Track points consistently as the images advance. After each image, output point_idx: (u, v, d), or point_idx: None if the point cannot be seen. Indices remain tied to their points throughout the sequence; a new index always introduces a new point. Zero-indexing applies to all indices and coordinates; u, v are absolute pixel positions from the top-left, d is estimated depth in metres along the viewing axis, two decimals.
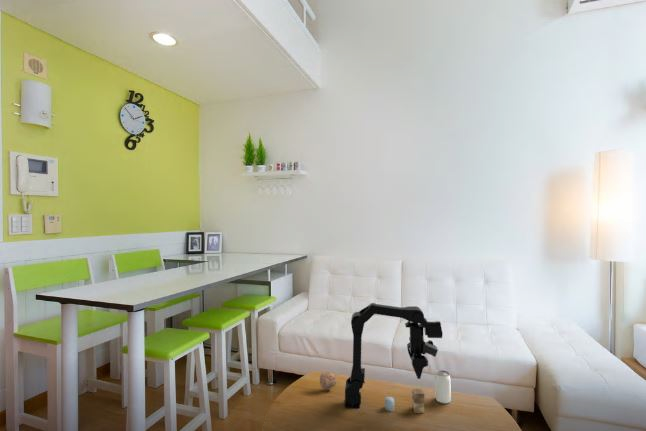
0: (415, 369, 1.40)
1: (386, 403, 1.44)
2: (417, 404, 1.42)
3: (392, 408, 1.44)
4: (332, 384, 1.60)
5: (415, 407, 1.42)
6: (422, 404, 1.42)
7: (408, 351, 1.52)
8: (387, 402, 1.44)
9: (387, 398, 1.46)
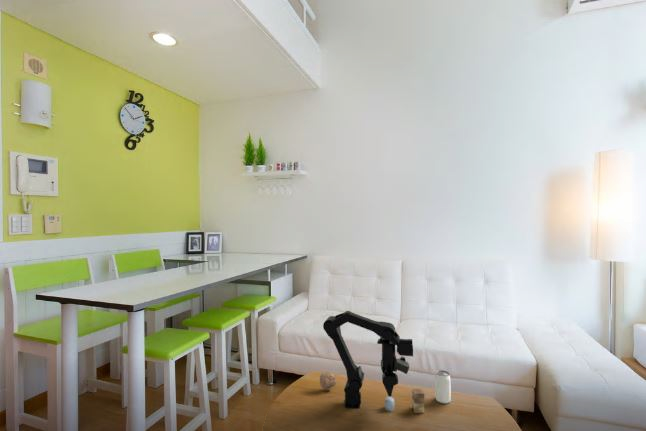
0: (386, 387, 1.40)
1: (386, 403, 1.44)
2: (417, 404, 1.42)
3: (392, 408, 1.44)
4: (332, 384, 1.60)
5: (415, 407, 1.42)
6: (422, 404, 1.42)
7: (381, 367, 1.52)
8: (387, 402, 1.44)
9: (387, 398, 1.46)
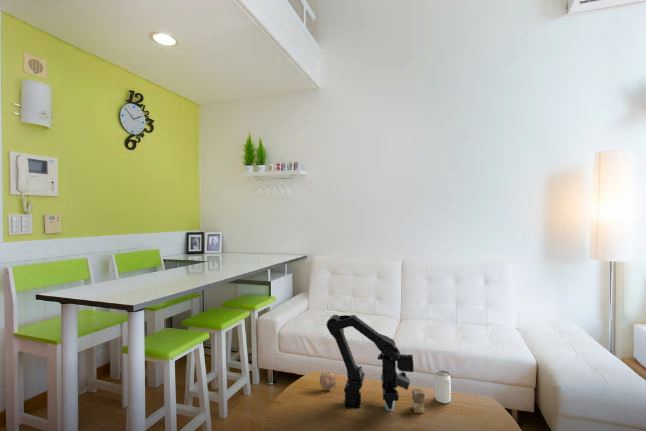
0: (386, 400, 1.42)
1: None
2: (417, 404, 1.42)
3: (392, 408, 1.44)
4: (332, 384, 1.60)
5: (415, 407, 1.42)
6: (422, 404, 1.42)
7: (382, 385, 1.50)
8: None
9: None
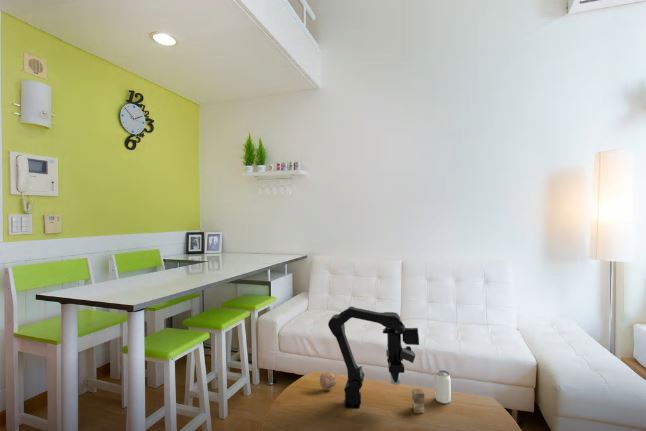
0: (392, 373, 1.42)
1: None
2: (417, 404, 1.42)
3: (398, 381, 1.43)
4: (332, 384, 1.60)
5: (415, 407, 1.42)
6: (422, 404, 1.42)
7: (387, 359, 1.49)
8: None
9: None
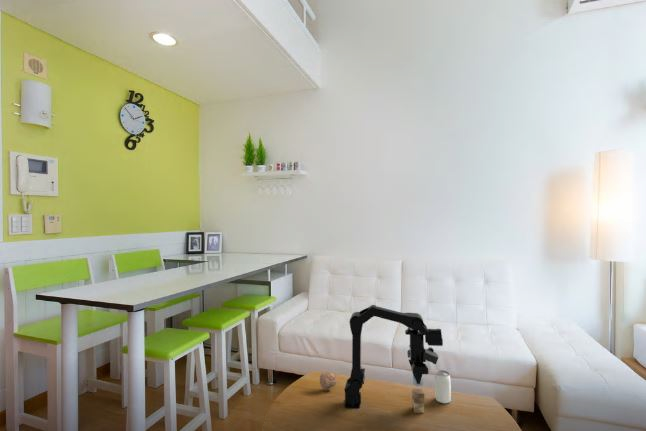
0: (415, 374, 1.41)
1: None
2: (417, 404, 1.42)
3: (421, 383, 1.42)
4: (332, 384, 1.60)
5: (415, 407, 1.42)
6: (422, 404, 1.42)
7: (409, 361, 1.48)
8: None
9: None
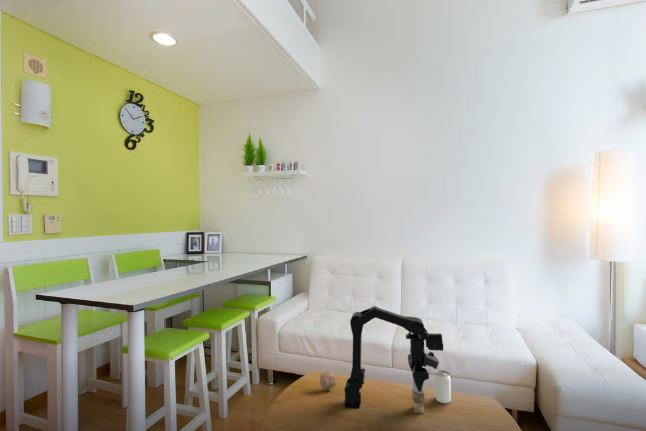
0: (416, 382, 1.38)
1: (415, 386, 1.43)
2: (417, 404, 1.42)
3: (421, 390, 1.42)
4: (332, 384, 1.60)
5: (415, 407, 1.42)
6: (422, 404, 1.42)
7: (409, 363, 1.50)
8: None
9: None
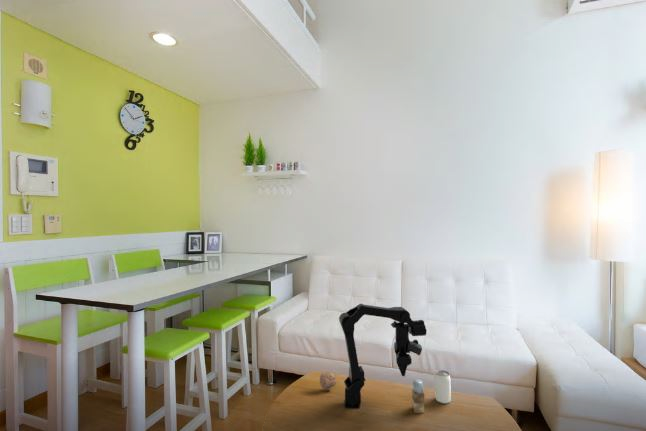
0: (399, 367, 1.46)
1: (415, 386, 1.43)
2: (417, 404, 1.42)
3: (421, 390, 1.42)
4: (332, 384, 1.60)
5: (415, 407, 1.42)
6: (422, 404, 1.42)
7: (395, 350, 1.58)
8: (416, 384, 1.42)
9: (415, 380, 1.45)
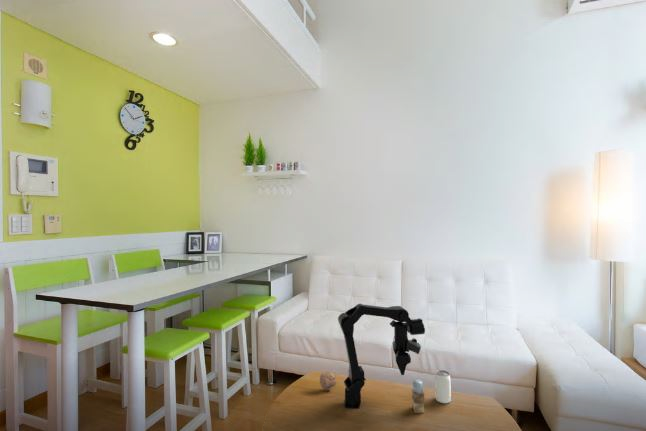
0: (399, 366, 1.47)
1: (415, 386, 1.43)
2: (417, 404, 1.42)
3: (421, 390, 1.42)
4: (332, 384, 1.60)
5: (415, 407, 1.42)
6: (422, 404, 1.42)
7: (393, 349, 1.59)
8: (416, 384, 1.42)
9: (415, 381, 1.45)
